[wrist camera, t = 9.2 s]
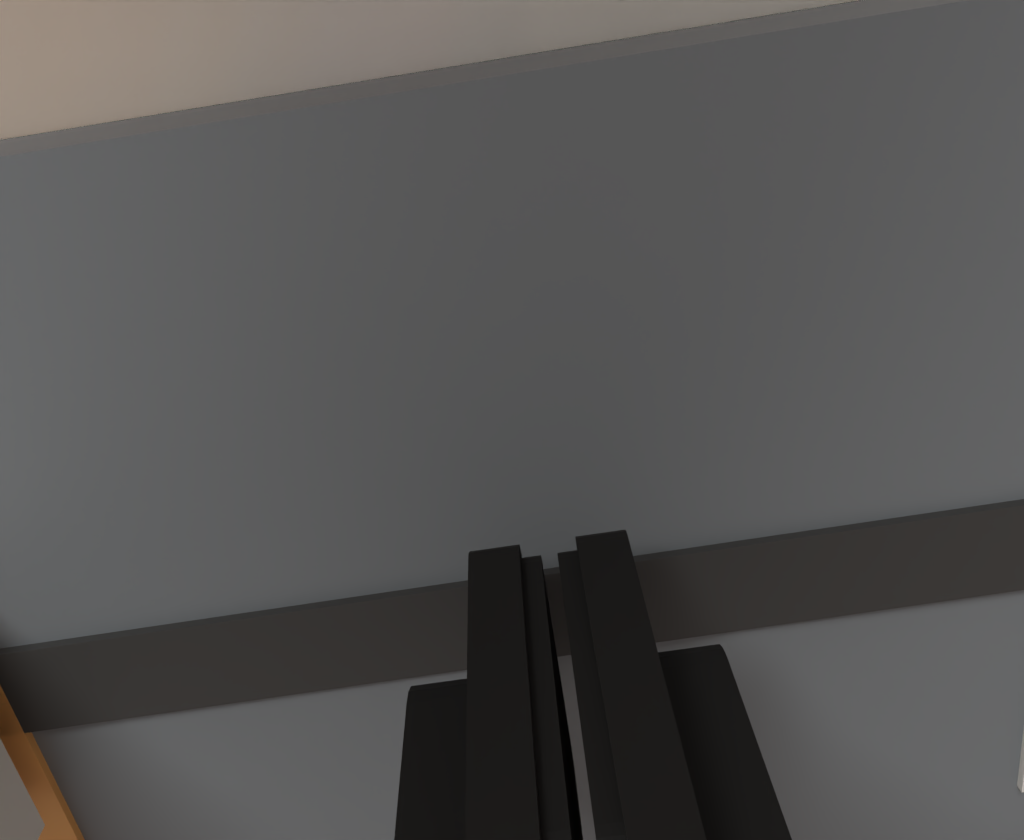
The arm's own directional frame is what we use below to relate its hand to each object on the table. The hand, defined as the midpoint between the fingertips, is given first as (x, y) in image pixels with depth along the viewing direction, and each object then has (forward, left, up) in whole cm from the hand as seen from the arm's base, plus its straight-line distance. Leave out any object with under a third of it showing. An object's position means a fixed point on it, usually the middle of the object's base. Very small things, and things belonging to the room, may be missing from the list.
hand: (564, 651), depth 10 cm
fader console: (+2, 0, -3) cm, 3 cm away
